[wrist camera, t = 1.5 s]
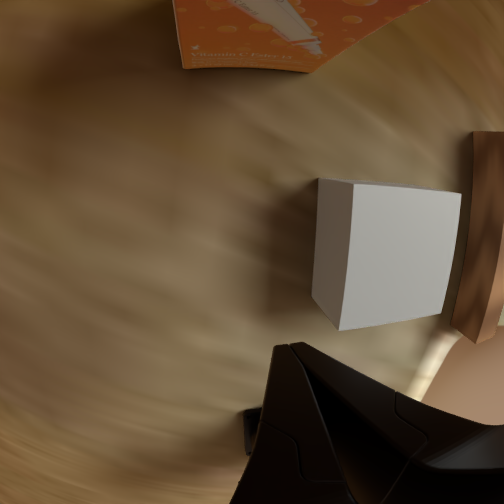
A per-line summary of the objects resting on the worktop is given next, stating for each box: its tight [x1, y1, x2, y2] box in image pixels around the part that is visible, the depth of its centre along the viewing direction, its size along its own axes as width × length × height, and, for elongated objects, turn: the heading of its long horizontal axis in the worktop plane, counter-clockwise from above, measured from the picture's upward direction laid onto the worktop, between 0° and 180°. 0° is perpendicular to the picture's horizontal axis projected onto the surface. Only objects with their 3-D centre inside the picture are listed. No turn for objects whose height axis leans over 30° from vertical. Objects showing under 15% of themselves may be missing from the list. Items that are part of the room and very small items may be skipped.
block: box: [311, 178, 461, 331], centre depth 18 cm, size 8×8×5 cm
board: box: [450, 131, 504, 344], centre depth 20 cm, size 18×3×4 cm, turn 1°
